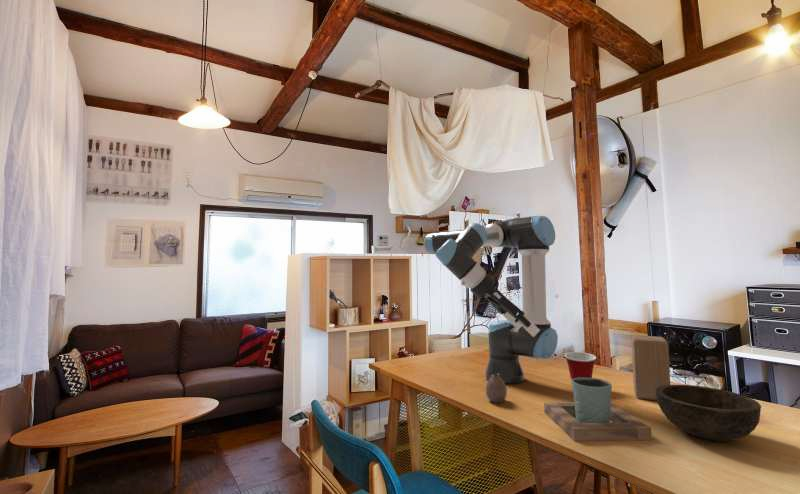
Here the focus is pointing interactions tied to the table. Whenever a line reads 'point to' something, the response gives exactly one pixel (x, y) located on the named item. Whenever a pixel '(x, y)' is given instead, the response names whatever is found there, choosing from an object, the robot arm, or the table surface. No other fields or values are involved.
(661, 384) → the wooden block
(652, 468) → the table surface
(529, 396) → the table surface
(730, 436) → the bowl
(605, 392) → the grey-green cup
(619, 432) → the well board
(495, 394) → the vase
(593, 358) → the plastic cup
